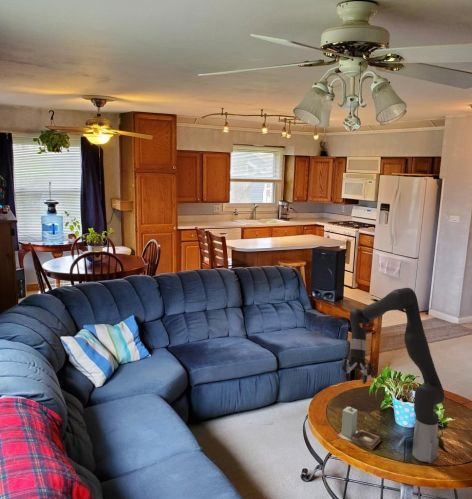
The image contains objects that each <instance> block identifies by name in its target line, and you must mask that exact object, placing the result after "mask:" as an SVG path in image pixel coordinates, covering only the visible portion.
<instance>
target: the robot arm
mask: <svg viewBox="0 0 472 499" xmlns="http://www.w3.org/2000/svg"><path fill="white" fill-rule="evenodd" d="M419 307H420V306H419V301H418V298H417V294H416V293H415V290H414V289H413V288H411V287H403V288H397V289H393V290H392V291H390V292H389V293H387V294H386V295H385V296H384V297H382V298H380V299H379V300H377V301H375V302H372V303H370V304H367V305H366V306H364V307H363V309H361V308H353V309H351V310H350V312H349V321H350V328H351V340H350V345H349V346H350V347H349V359H345V358H343V359H342V364H341V372H343V373H344V380H345V382H349V381H350V373H351V371H355V370H357V371H360V372H361V373H362V384H363V385H365V384H367V383H368V381H367V380H368V376H371V375H372V363H371V362H366V353H367V343H366V342H367V330H366V329H365V328H364V327H362V326H361V324H362V325H367V324H370V323H371V322H372V321H373V320H374V319H377V318H380V317H381V316H383V315H384V314H385V313H387V312H390V311H397V310H398V311H402V310H404V311H405V314H406V327H405V332H404V337H403V338H404V339H403V340H404V344H405V348H406V352H407V355H408V357H409V359H411V361H412V362H413V363H414V364H415V366H416V367H417V368H418V370H419V371H420V373H421V375H422V379H423V384H421V385H419V386H417V387H416V388H415V391H414V398H413V411H414V415H415V418H414V431H413V439H412V440H413V442H412V456H413V457H414V458H415V459H416V460H418V461H420V462H424V463H428V464H432V463H433V462H434V461H435V460H437V458H438V450H439V441H440V439H439V437H438V430H439V420H440V419H439V418H440V416H439V414H438V413H437V412H435V411H434V407H435V406H437V405H439V404H441V403H443V402H444V400H445V391H444V388H443V386H442V383H441V380H440V378H439V375H438V373H437V370H436V367H435V365H434V364H435V363H434V361H433V357H432V355H431V351H430V346H429V343H428V339H427V336H426V332H425V329H424V327H423V326H424V325H423V322H422V317H421V314H420V313H421V312H420V308H419ZM348 364H349V366H347V365H348ZM365 367H366V368H365Z"/></svg>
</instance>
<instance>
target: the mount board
mask: <svg viewBox="0 0 472 499" xmlns="http://www.w3.org/2000/svg"><path fill="white" fill-rule="evenodd" d="M337 437H338V438H342V439H344V440H346V441H348V442H351V443H354V444H356V445H357V446H358V445H359V446H361V447H363V448H366V449H367V450H371V451H372V450H373V449H374V448H375V447H376V446H377V445H378V444H379V443H380V442H381V436H379V435H376V434H374V433H372V432H370V431H366V430H365V429H359V430H356V434H355V435H354V436H353V437H352V438H349V437H347V436H344V435H342V434H341V431H340V432H339V433H338V434H337Z"/></svg>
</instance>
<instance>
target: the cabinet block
mask: <svg viewBox="0 0 472 499" xmlns="http://www.w3.org/2000/svg"><path fill="white" fill-rule="evenodd" d="M357 424H358V409H356V408H354V407H351V406H346V407H345V408H344V409H343V410H342V418H341V431H340V432H341V434H342V435H344V436H347V437H349V438H352V437H353V436H354V435H355V434H356V431H357Z"/></svg>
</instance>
